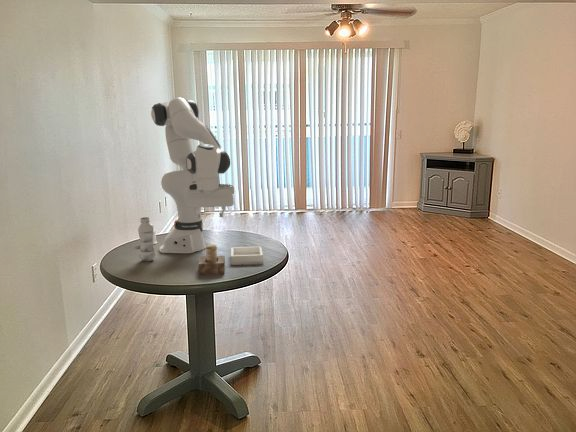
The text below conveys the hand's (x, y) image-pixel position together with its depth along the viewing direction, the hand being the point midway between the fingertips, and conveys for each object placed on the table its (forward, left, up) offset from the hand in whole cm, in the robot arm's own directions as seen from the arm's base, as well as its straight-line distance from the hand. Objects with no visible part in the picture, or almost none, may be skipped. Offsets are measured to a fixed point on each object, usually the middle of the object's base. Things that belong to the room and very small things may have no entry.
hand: (209, 217), depth 198 cm
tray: (+15, +14, -23) cm, 31 cm away
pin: (0, 0, -23) cm, 23 cm away
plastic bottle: (-30, +18, -24) cm, 42 cm away
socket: (0, 0, -23) cm, 23 cm away
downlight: (-34, +48, -24) cm, 63 cm away
